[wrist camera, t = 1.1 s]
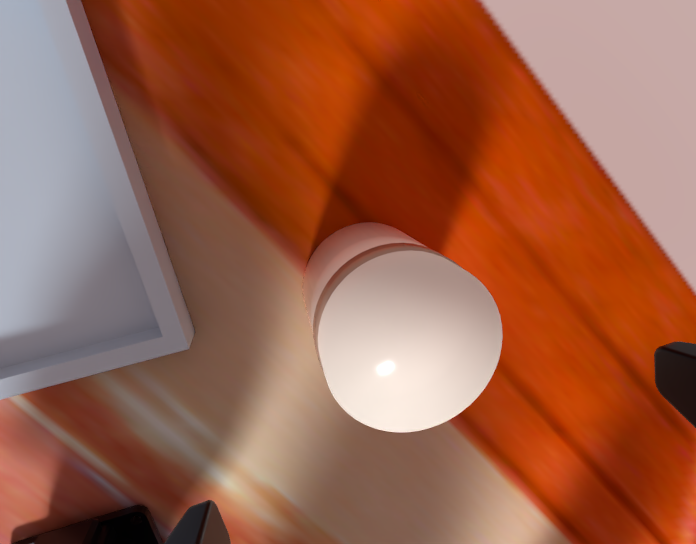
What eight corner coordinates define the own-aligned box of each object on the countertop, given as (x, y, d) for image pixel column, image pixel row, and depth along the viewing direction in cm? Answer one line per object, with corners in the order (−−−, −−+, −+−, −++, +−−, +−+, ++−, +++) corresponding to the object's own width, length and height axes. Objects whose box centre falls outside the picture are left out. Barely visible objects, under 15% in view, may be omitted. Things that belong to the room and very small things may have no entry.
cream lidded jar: (437, 326, 22) (512, 403, 16) (318, 360, 22) (343, 455, 15) (418, 207, 20) (493, 237, 14) (286, 239, 20) (300, 287, 13)
